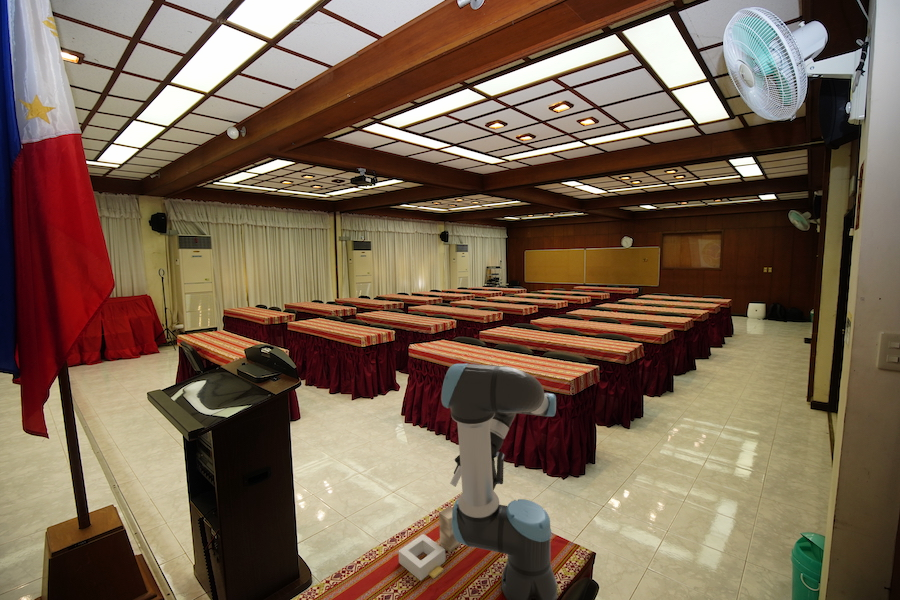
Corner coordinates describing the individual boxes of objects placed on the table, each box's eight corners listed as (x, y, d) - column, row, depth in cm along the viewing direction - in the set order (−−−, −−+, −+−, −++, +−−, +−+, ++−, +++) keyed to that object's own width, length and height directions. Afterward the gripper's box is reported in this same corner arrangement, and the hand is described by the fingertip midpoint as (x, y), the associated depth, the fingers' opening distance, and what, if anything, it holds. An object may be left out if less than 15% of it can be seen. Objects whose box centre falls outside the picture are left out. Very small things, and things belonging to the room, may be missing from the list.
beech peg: (459, 544, 128) (458, 512, 127) (450, 551, 125) (449, 519, 124) (449, 537, 132) (448, 506, 130) (440, 544, 128) (438, 512, 127)
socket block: (450, 565, 120) (450, 552, 119) (425, 585, 113) (425, 572, 112) (423, 545, 128) (423, 533, 128) (399, 562, 121) (398, 550, 121)
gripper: (528, 450, 136) (502, 512, 127) (473, 429, 153) (447, 482, 145) (519, 441, 132) (491, 504, 123) (463, 420, 149) (435, 475, 140)
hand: (467, 493), depth 134 cm, fingers open, 13 cm apart
